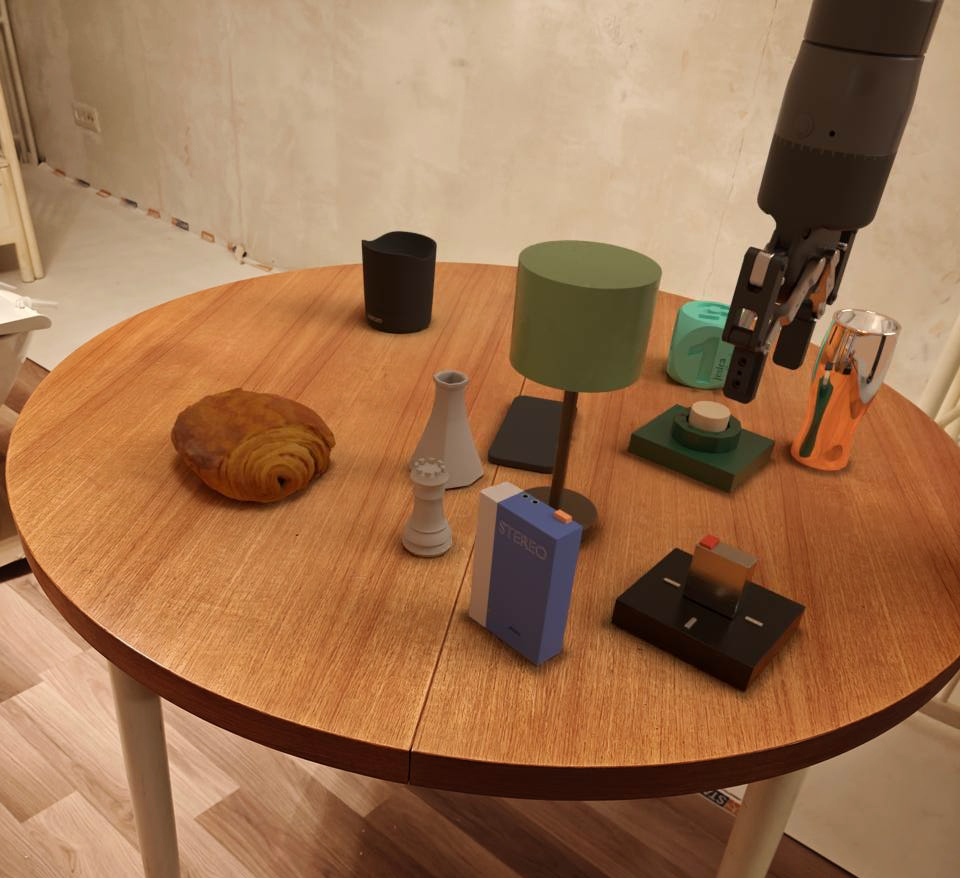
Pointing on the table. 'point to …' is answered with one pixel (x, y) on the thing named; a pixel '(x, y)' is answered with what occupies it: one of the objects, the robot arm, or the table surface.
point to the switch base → (702, 449)
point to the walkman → (523, 570)
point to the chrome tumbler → (844, 385)
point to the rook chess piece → (428, 511)
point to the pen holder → (399, 281)
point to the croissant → (253, 444)
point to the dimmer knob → (719, 576)
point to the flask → (450, 432)
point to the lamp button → (709, 416)
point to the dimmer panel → (707, 623)
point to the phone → (528, 434)
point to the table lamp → (580, 336)
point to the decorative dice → (700, 345)
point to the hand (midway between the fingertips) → (762, 381)
